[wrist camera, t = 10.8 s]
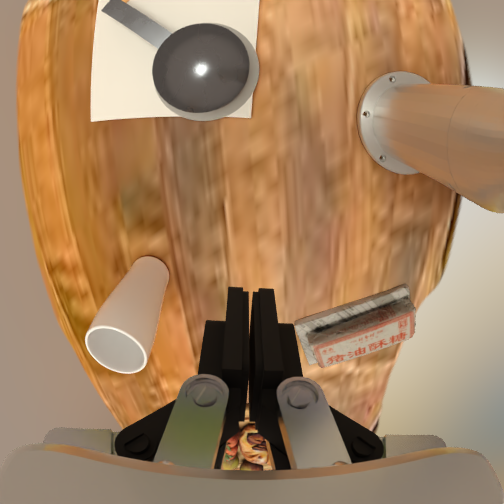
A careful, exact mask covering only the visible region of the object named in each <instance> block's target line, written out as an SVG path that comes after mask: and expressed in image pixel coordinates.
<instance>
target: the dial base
mask: <svg viewBox="0 0 504 504" xmlns="http://www.w3.org/2000/svg"><path fill="white" fill-rule="evenodd" d="M109 1H110V0H99V3H98V9H97V17H96V25H95V34H94V45H93V58H92V77H91V122H92V121H102V120H113V119H126V118H143V117H171V116H181V117H183V118H187V119H190V120H195V121H210V120H216V119H220V118H223V117H240V118H251V110H252V95H253V92H254V89H255V87H256V85H257V81H258V77H259V62H258V57H257V54H256V40H257V26H258V13H259V0H122V1H123V2H125V3H127V4H128V5H130V6H132V7H133V8H135V9H136V10H138V11H140V12H141V13H143V14H144V15H146V16H147V17H149V18H150V19H152V20H153V21H155V22H156V23H158V24H159V25H161V26H162V27H164V28H165V29H167V30H168V31H169V32H171V33H174V32H175V31H177V30H179V29H181V28H183V27H185V26H189V25H192V24H198V23H210V24H215V25H219V26H222V27H224V28H226V29H228V30H230V31H232V32H233V33H234V34H235V35H237V36H238V37H239V39H240V40H241V41H242V42H243V44H244V46H245V48H246V50H247V52H248V56H249V63H250V64H249V76H248V80H247V83H246V85H245V87H244V89H243V91H242V92H241V94H240V95H239V96H238V97H237V98H236V99H235V100H234V101H233V102H231V103H230V104H228V105H227V106H225V107H223V108H220V109H217V110H214V111H210V112H205V113H190V112H185V111H182V110H179V109H177V108H175V107H173V106H171V105H170V104H168V103H167V102H166V101H165V100H164V99H163V98H162V97H161V96H160V94H159V93H158V91H157V89H156V87H155V85H154V81H153V76H152V66H153V61H154V57H155V55H156V53H157V50H158V49H157V48H156V47H155V46H153V45H152V44H150V43H149V42H148V41H146V40H145V39H143V38H142V37H140V36H139V35H138V34H136V33H135V32H133V31H132V30H130V29H129V28H127V27H126V26H124V25H123V24H121V23H120V22H118V21H117V20H115V19H113V18H112V17H110V16H109V15H107V14H106V13H104V12H102V11H101V10H102V9H103V8H104V7H105V5H106V4H107V3H108V2H109Z"/></svg>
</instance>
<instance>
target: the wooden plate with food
mask: <svg viewBox="0 0 504 504" xmlns="http://www.w3.org/2000/svg"><path fill="white" fill-rule="evenodd" d="M237 467H240V470H250V471H263V469H269V468H272V467H271V463H270V458H269V454H268V450H267V446H266V439H265V438H264V437H262V436H261V435H260V434H259V433H257V430H255V422H249V404H246V411H245V421H244V422H239V432H238V433H237V434H236V435H234V436H233V437H232V438H230V439H229V440H228V445H227V450H226V454H225V458H224V463H223V467H222V470H235V469H236V468H237Z"/></svg>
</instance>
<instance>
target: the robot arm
mask: <svg viewBox="0 0 504 504" xmlns="http://www.w3.org/2000/svg"><path fill="white" fill-rule="evenodd" d="M389 78H390V79H391V81H390V80H389ZM363 112H365V113H366V115H365V116H364V115H363ZM357 126H358V131H359V136H360V138H361V141H362V144H363V146H364V147H365V149H366V151H367V152H368V154H369V155H370V156H371V157H372V158H373V160H374V161H375V162H377V163H378V164H379V165H381V166H382V167H384V168H385V169H387V170H389V171H392V172H394V173H397V174H403V175H410V174H416V173H420V172H421V173H423V174H425V175H427V176H428V177H430V178H432V179H434V180H436V181H438V182H439V183H441V184H443V185H445V186H446V187H448V188H450V189H452V190H453V191H455V192H457V193H458V194H460V195H462V196H463V197H465V198H467V199H468V200H470V201H472V202H474V203H476V204H477V205H479V206H480V207H482V208H484V209H487V210H489V211H492V212H496V213H504V89H502V88H493V87H482V86H469V85H451V84H431V83H430V82H429V81H427V80H426V79H424V78H423V77H421V76H419V75H417V74H414V73H410V72H405V71H398V72H390V73H387V74H384V75H381V76H380V77H378V78H377V79H375V80H374V81H373V82H372V83H371V84H370V85H369V86H368V87H367V88H366V90H365V92H364V93H363V95H362V97H361V100H360V103H359V106H358V113H357ZM380 156H382V157H381V159H380ZM248 380H249V422H255V430H257V433H259V434H260V435H261V436H262V437H264V438H265V439H266V446H267V450H268V454H269V458H270V463H271V467H272V470H265V471H250V470H222V467H223V463H224V458H225V454H226V450H227V445H228V440H229V439H230V438H232V437H233V436H234V435H236V434H237V433H238V432H239V422H244V421H245V411H246V401H247V391H248ZM0 504H504V492H503V489H502V487H501V484H500V482H499V479H498V477H497V475H496V473H495V471H494V469H493V467H492V466H491V464H490V463H489V461H488V460H487V459H486V458H485V457H484V456H483V455H482V454H481V453H479V452H477V451H474V450H470V449H465V448H458V447H457V448H456V447H446V444H445V442H444V441H443V440H442V439H441V438H439V437H437V436H434V435H385V436H384V437H378V436H377V435H376V434H375V433H373V432H372V431H370V430H368V429H367V428H365V427H363V426H361V425H360V424H358V423H356V422H355V421H353V420H352V419H350V418H348V417H347V416H345V415H343V414H342V413H340V412H339V411H337V410H335V409H334V408H332V407H331V406H329V405H328V403H327V400H326V398H325V395H324V393H323V390H322V389H321V387H320V386H319V385H318V384H317V383H316V382H315V381H313V380H311V379H309V378H305V377H303V374H302V368H301V363H300V357H299V351H298V346H297V340H296V335H295V329H294V325H293V324H284V323H278V319H277V311H276V303H275V295H274V289H265V288H259V290H258V292H253V297H252V310H251V322H250V334H249V292H245V291H243V288H242V287H228V299H227V311H226V321H211V320H206V324H205V330H204V336H203V343H202V349H201V356H200V363H199V370H198V375H195V376H192V377H190V378H188V379H187V380H186V381H185V382H184V383H183V385H182V386H181V389H180V391H179V394H178V397H177V399H176V400H174V401H172V402H170V403H169V404H167V405H165V406H164V407H162V408H160V409H158V410H157V411H155V412H153V413H151V414H150V415H148V416H146V417H144V418H143V419H141V420H139V421H137V422H135V423H134V424H132V425H130V426H128V427H126V428H125V429H123V430H122V431H121V432H112V430H111V429H77V428H76V429H75V428H54V429H52V430H51V431H49V432H48V433H47V435H46V436H45V439H44V443H38V444H29V445H24V446H21V447H18V448H16V449H14V450H13V451H12V452H11V453H10V454H9V455H8V456H7V457H6V459H5V460H4V462H3V463H2V465H1V467H0Z"/></svg>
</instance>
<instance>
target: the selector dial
mask: <svg viewBox="0 0 504 504" xmlns="http://www.w3.org/2000/svg"><path fill="white" fill-rule="evenodd" d="M101 11H102V12H104V13H106V14H107V15H109V16H110V17H112V18H113V19H115V20H117V21H118V22H120V23H121V24H123V25H124V26H126V27H127V28H129V29H130V30H132V31H133V32H135V33H136V34H138V35H139V36H140V37H142V38H143V39H145V40H146V41H148V42H149V43H150V44H152V45H153V46H155V47H156V48H157V49H158V50H157V53H156V55H155V57H154V61H153V66H152V76H153V81H154V85H155V87H156V89H157V91H158V93H159V94H160V96H161V97H162V98H163V99H164V100H165V101H166V102H167V103H168V104H170V105H171V106H173V107H175V108H177V109H179V110H182V111H185V112H190V113H205V112H210V111H214V110H217V109H220V108H223V107H225V106H227V105H228V104H230V103H231V102H233V101H234V100H235V99H236V98H237V97H238V96H239V95H240V94H241V92H242V91H243V89H244V87H245V85H246V83H247V80H248V76H249V64H250V63H249V56H248V52H247V50H246V48H245V46H244V44H243V42H242V41H241V40H240V39H239V37H238V36H237V35H235V34H234V33H233V32H232V31H230V30H228V29H226V28H224V27H222V26H219V25H215V24H210V23H198V24H192V25H189V26H185V27H183V28H181V29H179V30H177V31H175V32H174V33H171V32H169V31H168V30H167V29H165V28H164V27H162V26H161V25H159V24H158V23H156V22H155V21H153V20H152V19H150V18H149V17H147V16H146V15H144V14H143V13H141V12H140V11H138V10H136V9H135V8H133V7H132V6H130V5H128V4H127V3H125V2H123V1H122V0H110V1H109V2H108V3H107V4H106V5H105V7H104V8H103V9H102V10H101Z"/></svg>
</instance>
